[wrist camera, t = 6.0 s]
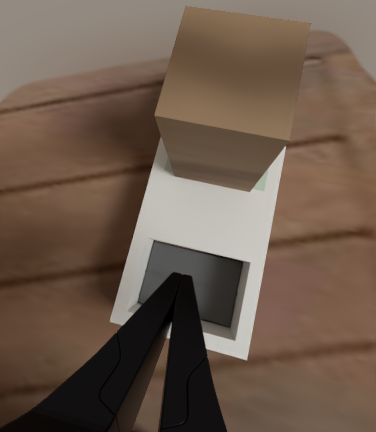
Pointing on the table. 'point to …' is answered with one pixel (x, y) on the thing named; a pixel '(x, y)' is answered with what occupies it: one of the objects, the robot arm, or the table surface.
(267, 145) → the walnut block
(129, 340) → the robot arm
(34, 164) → the table surface
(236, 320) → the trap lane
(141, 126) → the table surface
